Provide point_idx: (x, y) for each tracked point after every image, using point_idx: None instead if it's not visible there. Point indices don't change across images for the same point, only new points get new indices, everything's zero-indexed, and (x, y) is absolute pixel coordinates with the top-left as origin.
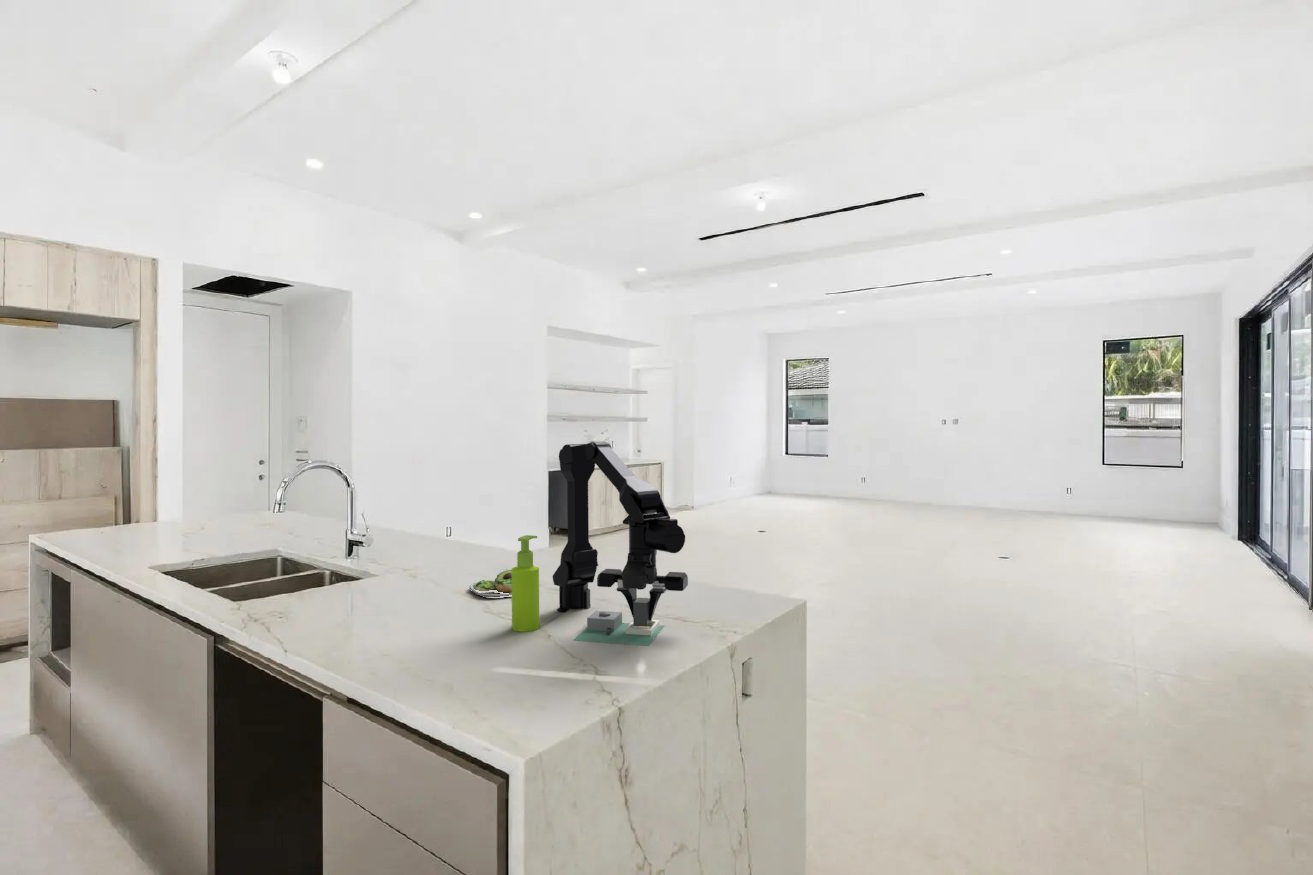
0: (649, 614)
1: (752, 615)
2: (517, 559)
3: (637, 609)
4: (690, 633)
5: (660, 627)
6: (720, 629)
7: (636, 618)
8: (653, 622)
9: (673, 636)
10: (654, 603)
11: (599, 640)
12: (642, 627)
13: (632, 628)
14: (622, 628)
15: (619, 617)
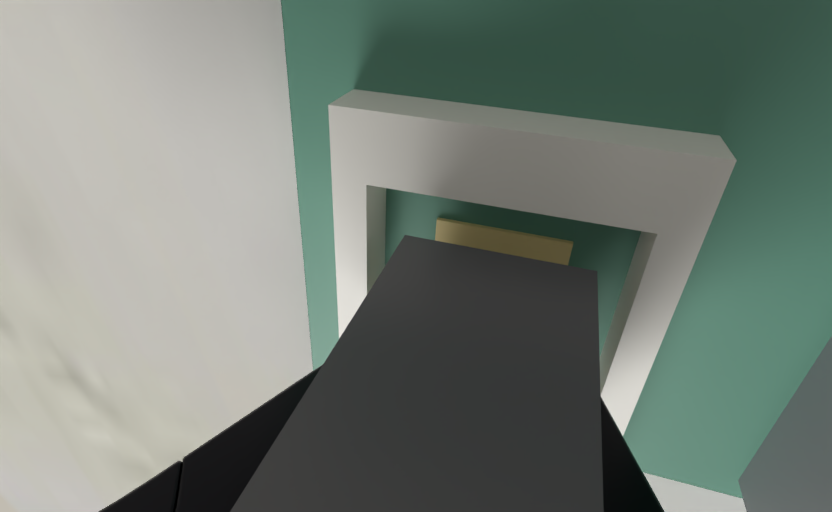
0: None
1: (20, 502)
2: None
3: (505, 446)
4: (123, 267)
5: (335, 344)
6: (14, 338)
7: (544, 327)
8: None
9: (203, 190)
10: (122, 506)
11: None
12: None
13: (608, 184)
14: (747, 336)
15: (819, 505)
